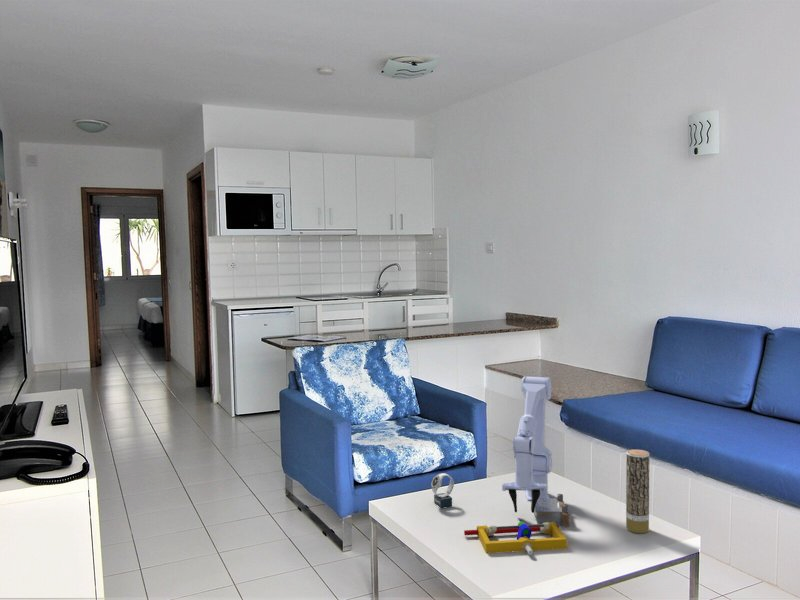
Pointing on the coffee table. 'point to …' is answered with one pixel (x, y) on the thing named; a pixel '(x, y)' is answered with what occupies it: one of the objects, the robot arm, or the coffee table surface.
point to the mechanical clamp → (520, 538)
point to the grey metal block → (548, 511)
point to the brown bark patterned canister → (637, 491)
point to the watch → (442, 498)
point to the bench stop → (563, 511)
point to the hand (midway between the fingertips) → (524, 511)
